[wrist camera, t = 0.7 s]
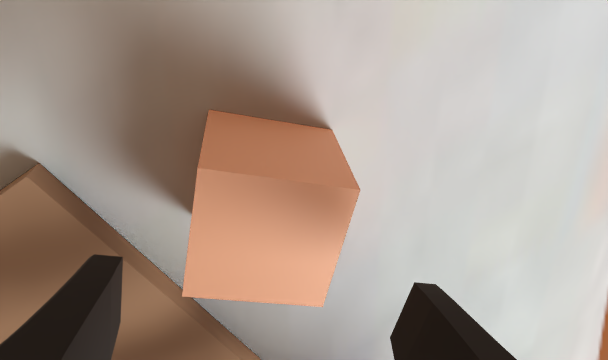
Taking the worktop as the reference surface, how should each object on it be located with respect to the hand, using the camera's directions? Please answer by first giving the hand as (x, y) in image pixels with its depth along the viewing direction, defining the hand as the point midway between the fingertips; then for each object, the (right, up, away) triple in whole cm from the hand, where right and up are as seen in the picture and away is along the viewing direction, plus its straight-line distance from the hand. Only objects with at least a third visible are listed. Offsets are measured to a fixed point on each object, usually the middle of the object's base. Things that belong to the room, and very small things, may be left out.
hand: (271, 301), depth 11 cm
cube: (-1, +3, +6) cm, 7 cm away
